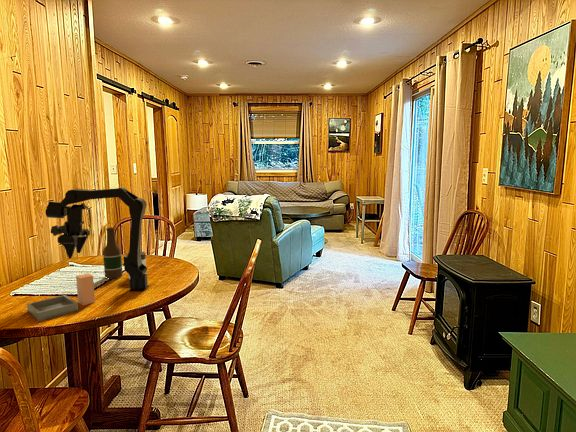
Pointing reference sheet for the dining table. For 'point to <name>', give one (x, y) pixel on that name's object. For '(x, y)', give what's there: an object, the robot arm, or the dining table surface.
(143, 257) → the jar
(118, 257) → the beer bottle
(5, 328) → the dining table surface
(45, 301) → the tote
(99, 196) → the robot arm
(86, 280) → the carton
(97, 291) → the dining table surface
